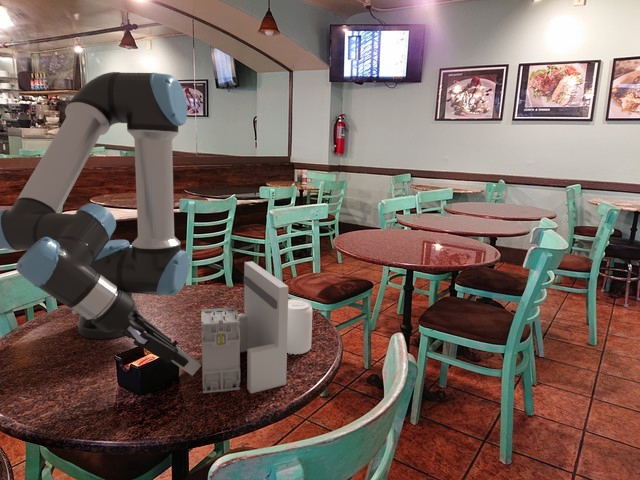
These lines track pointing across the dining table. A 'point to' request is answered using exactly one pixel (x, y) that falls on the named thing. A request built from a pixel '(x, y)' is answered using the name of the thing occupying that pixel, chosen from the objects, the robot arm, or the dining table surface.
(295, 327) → the beverage can
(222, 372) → the circuit breaker
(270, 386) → the grey upright angular piece
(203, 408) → the dining table surface
